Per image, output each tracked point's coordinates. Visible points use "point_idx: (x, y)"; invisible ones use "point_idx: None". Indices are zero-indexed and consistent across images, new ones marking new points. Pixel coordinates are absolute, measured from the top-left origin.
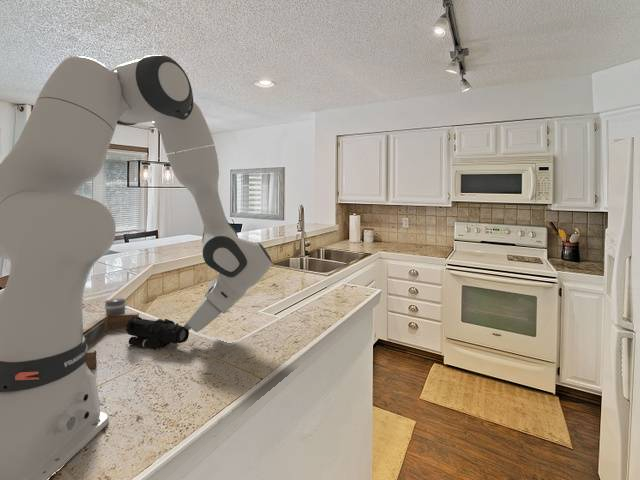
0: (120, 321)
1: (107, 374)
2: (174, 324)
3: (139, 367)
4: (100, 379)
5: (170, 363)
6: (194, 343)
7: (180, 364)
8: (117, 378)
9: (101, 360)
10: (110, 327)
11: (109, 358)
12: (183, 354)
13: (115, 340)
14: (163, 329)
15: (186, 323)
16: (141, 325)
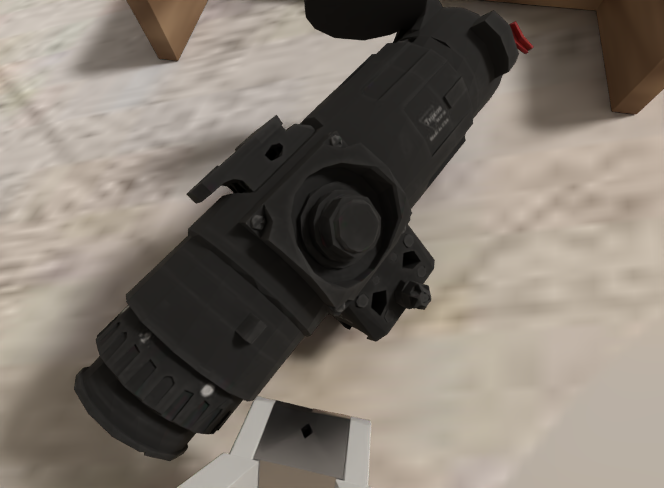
0: (629, 13)
1: (93, 103)
2: (223, 303)
3: (91, 196)
4: (64, 92)
5: (52, 331)
6: None
7: (6, 389)
8: (36, 138)
9: (234, 61)
10: (600, 12)
11: (242, 80)
12: None
13: None
14: (195, 222)
15: (239, 438)
16: (353, 76)
